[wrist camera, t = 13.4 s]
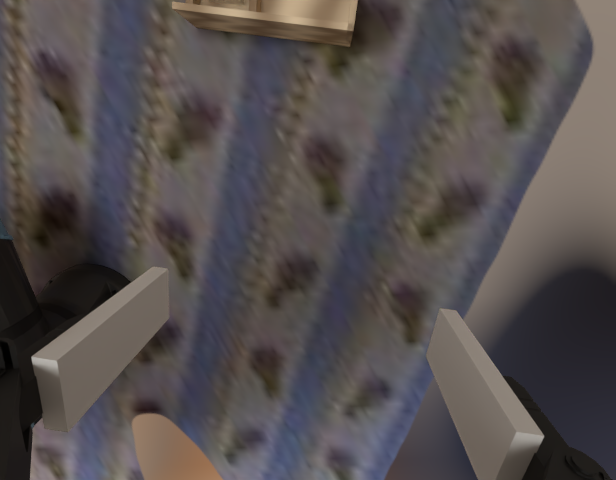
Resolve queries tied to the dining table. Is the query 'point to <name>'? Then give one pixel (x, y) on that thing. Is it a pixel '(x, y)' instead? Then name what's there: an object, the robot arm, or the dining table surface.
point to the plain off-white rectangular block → (229, 1)
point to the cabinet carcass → (277, 18)
